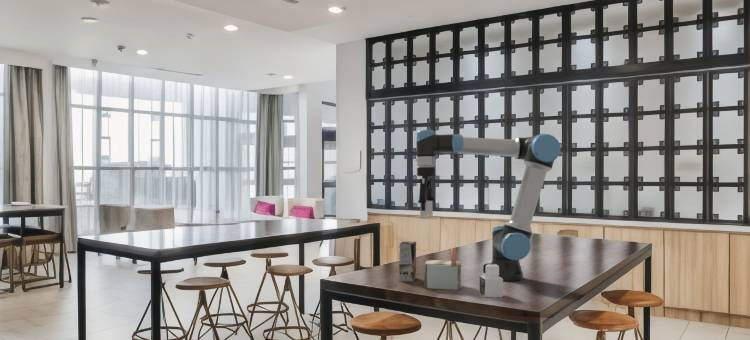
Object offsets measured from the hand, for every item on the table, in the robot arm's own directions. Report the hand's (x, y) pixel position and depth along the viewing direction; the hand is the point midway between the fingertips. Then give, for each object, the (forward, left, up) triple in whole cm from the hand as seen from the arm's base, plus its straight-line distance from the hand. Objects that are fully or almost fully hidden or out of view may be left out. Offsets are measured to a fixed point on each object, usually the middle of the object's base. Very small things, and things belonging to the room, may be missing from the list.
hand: (426, 217), depth 238 cm
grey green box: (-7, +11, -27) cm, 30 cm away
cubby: (-7, +5, -28) cm, 29 cm away
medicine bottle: (-26, +17, -28) cm, 42 cm away
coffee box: (+9, -7, -28) cm, 30 cm away
